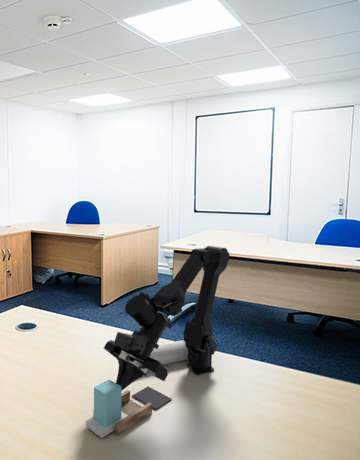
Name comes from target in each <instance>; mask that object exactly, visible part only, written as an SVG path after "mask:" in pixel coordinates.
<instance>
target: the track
mask: <svg viewBox="0 0 360 460" xmlns="http://www.w3.org/2000/svg"><path fill="white" fill-rule="evenodd" d="M92 410H93V416H94V408H93V409H92ZM121 411H122V412H123V413H125V414H126V415H128V416H127V417H125V418H123V419H122V420H120V421H119V422H117V423H115V430H114V431H112V432H111V433H113V434H115V435H116V436H117V437H118V436H120V435H122V434H123V433H125V432H127V430H129V429H131V428H132V427H134V426H135V425H136V424H138V423H140V422H141V421H143V420H144V419H146V418H147V417H149V416H150V415H151V414H153V408H152V403H150V402H149V403H148V404H144V405H143V406H141V405H140V404H138V403H136V402H135V401H133V400H132V399H131V391H130V390H128V389H127V390H125V391H123V392H121Z"/></svg>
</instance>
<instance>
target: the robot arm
mask: <svg viewBox="0 0 360 460" xmlns="http://www.w3.org/2000/svg"><path fill="white" fill-rule="evenodd" d="M229 252H230V251H228V249H227V248H226V247H222V246H221V247H220V246H214V245H207V246H206V247H204V248H193V249H192V250H191V251H190V254H189V257H188V258H187V259H186V261H185V262H184V263H183V265H182V266H181V268H180V269H179V271H178V272H177V274H175V276H174V278H173V279H172V280H171V281H170V282H169V283H167V284H166V285H164V286H162V287H161V288H160V289H159V290H158V291H157V292H156V293H155V294H154V295H152V296H151V297H150V296H149V294H148V293H147V292H142V291H140V292H139V294H138V295H134V296H133V297H132V298H131V299H129V300H127V302H126V303H125V307H124V308H125V309H124V311H125V313H126V315H128V316H129V317H130V318H131V320H133V322H135V323H136V324H137V325H139V326H140V328H139V329H138V330H136V329H135V330H134V331H132V334H129V333H126V332H125V333H124V332H121V331H116V332H117V333H116V335H115V339H114V340H112V339H110V340H108V341H107V342H106V343H105V345H104V346H103V349H104V350H105V351H106V352H107V353H109V354H110V355H111V356H113V357H114V358H116V361H117V362H118V372H117V377H116V380H115V383H116V384H118V385H120V386H121V392H122V391H124V390H125V389H126V388H127V387H129V386H130V385H132V384H133V383H134V382H135V381H137V380H139V379H140V378H141V377H146V376H147V371H151V372H152V373H153V374H154V377H155V378H156V379H158V380H161V381H162V382H165V380H166V379H167V378H168V375H169V370H168V367H166V366H165V364H164V365H163V364H161V363H160V362H159V361H157V360H155V359H153V358H150V355H151V353H152V351H153V349H154V348H156V349H158V347H159V345H160V344H158V342H159V340H160V338H161V336H162V334H163V333H164V331H165V330H166V328H167V329H169V330H171V328H172V323H171V318H170V317H171V316H172V317H174V316H177V315H179V313H180V311H181V310H182V308H183V306H184V304H185V302H186V292H187V291H188V289H189V288H190V287H191V285H192V283H193V282H194V280H195V279H196V277H197V276H198V275H199V273H200V271H201V270H203V276H202V280H201V285H200V290H199V294H198V298H197V302H196V303H197V304H196V307H195V310H194V316H193V317H192V319H190V321H186V323H185V326H184V331H183V333H182V334H183V340H184V341H185V345H186V348H189V349H190V354H189V359H188V363H187V367H188V368H189V369H190V370H191V371H192V372H193V373H194V374H195V375H201V374H205V373H209V372H213V371H215V368H214V367H213V365H212V363H213V362H212V360H213V355H215V352H217V348H218V344H217V342H216V341H215V340H214V339H213V327H212V324H211V315H212V312H213V311H212V310H213V306H214V302H215V297H216V292H217V288H218V284H219V278H220V276H221V275H222V273H224V271H225V270H227V266H228V263H229V260H230V258H231V257H230V253H229ZM164 314H165V315H168V316H170V317H167V316H164Z"/></svg>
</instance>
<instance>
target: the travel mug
mask: <svg viewBox="0 0 360 460" xmlns="http://www.w3.org/2000/svg"><path fill="white" fill-rule="evenodd" d="M158 345H159V347H158V349H156V348H154V349H153V351H152V353H151V355H150V358H153V359H155V360H157V361H159V362H160V363H161V364H163V365H164V366H165V365H169V364H172V363H177V362H182V361H186V360H189V354H190V349H189V348H186V345H185V341H184V339H182V340H176V341H171V342H167V343H162V344H158Z"/></svg>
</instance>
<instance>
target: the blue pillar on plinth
mask: <svg viewBox="0 0 360 460" xmlns="http://www.w3.org/2000/svg"><path fill="white" fill-rule="evenodd" d="M121 394H122V391H121V386H120V385H118V384H116V382H115V381H112V380H111V379H107V380H105V381H104V382H101V383H99V384H97V385H95V386H93V409H94V415H93V417H91V418H90V419H89V418H88V419H87V420H86V421H85V427H86V428H87V429H89V430H90V431H92V432H93V433H95V434H96V435H97V436H98V437H100V438H101V439H103V438H104V437H106V436H107V435H109V434H111V433H113V432H112V431H114V430H115V423H117V422H119V421H120V420H122V419H123V418H125V417H127V416H128V415H126V414H125V413H123V412H122V411H121Z"/></svg>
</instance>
